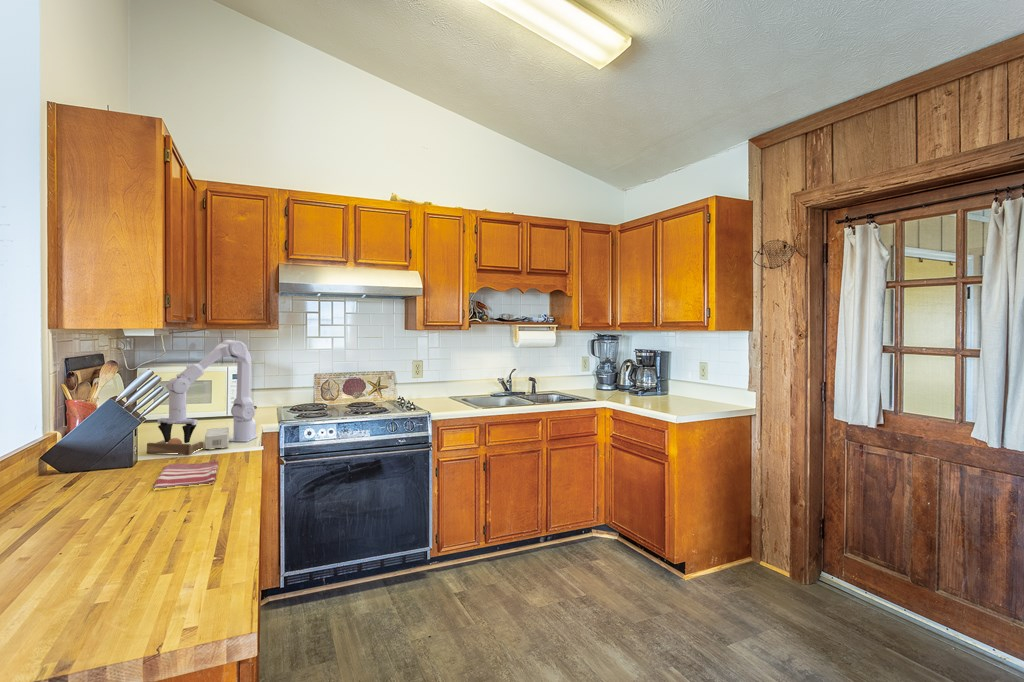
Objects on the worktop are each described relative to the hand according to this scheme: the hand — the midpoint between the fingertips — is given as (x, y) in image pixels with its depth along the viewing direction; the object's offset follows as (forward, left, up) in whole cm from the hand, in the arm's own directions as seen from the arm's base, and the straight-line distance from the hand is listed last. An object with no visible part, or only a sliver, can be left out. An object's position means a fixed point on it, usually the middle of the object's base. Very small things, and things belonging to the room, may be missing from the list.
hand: (177, 442), depth 199 cm
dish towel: (+30, +24, -4) cm, 39 cm away
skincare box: (-4, +14, 0) cm, 14 cm away
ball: (0, -1, -1) cm, 1 cm away
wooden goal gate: (+2, 0, -3) cm, 4 cm away
